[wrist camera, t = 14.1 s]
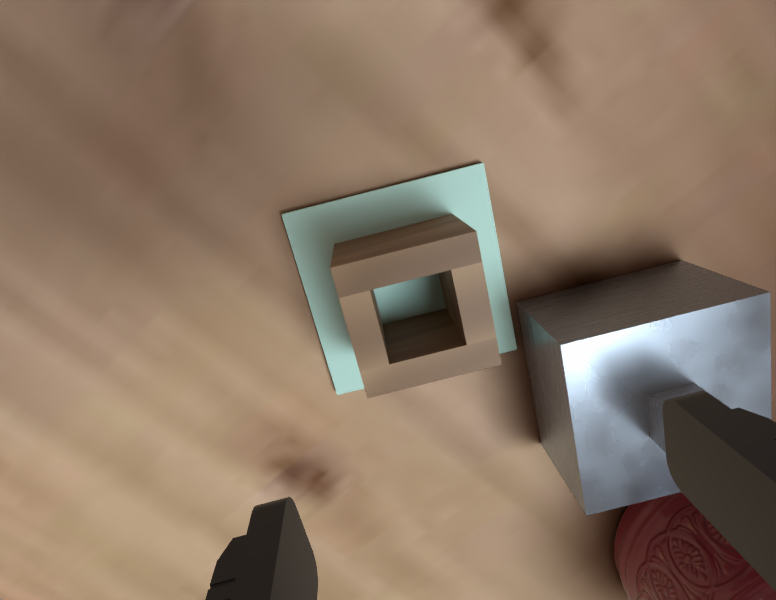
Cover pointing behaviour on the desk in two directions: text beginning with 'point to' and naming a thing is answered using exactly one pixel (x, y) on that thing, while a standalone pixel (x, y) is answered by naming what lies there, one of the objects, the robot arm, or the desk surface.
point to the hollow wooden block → (422, 332)
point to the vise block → (639, 371)
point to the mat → (406, 299)
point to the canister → (680, 556)
